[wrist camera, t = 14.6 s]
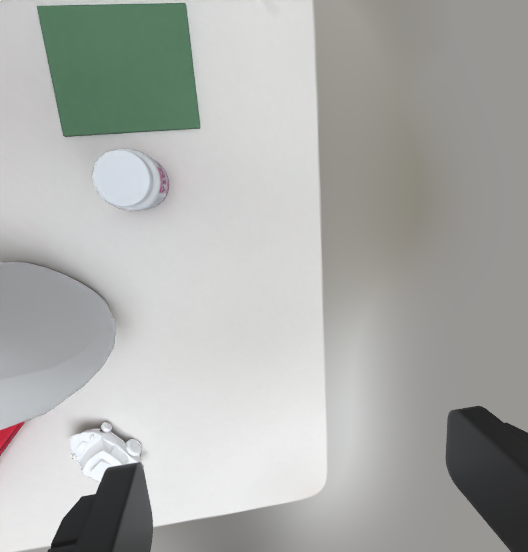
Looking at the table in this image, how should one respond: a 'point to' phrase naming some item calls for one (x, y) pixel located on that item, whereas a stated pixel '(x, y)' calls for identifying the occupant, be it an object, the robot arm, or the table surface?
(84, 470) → the toy car
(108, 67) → the cloth
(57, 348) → the soap bottle
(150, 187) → the pill bottle
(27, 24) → the table surface
